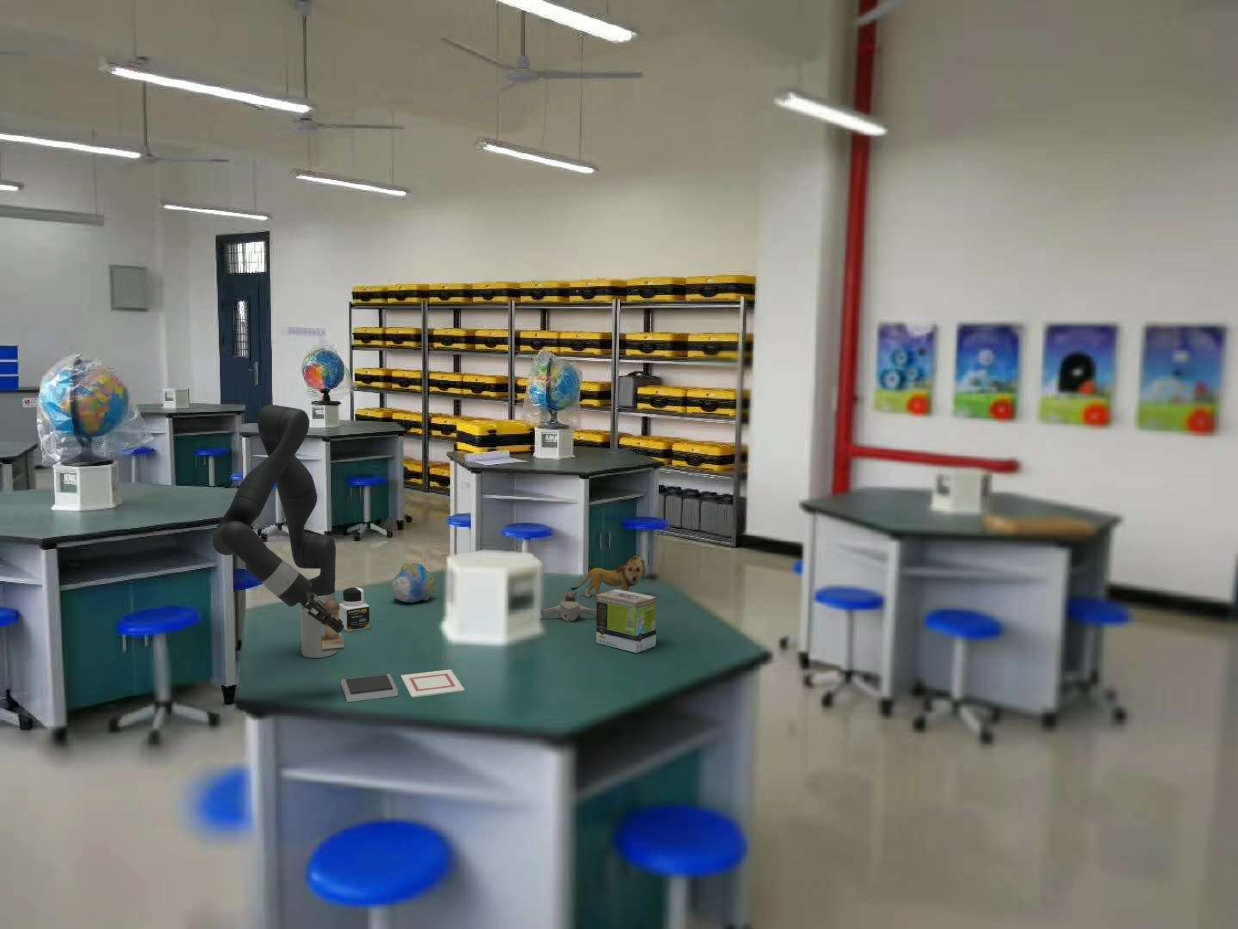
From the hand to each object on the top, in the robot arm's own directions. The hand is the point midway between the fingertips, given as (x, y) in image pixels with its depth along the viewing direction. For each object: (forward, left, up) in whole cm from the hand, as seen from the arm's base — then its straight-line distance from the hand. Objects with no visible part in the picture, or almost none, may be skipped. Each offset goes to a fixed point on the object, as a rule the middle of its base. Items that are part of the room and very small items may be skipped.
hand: (340, 627), depth 235 cm
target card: (+2, +22, -16) cm, 27 cm away
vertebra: (-42, +74, -17) cm, 87 cm away
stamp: (0, -2, -5) cm, 5 cm away
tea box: (-11, +80, -17) cm, 83 cm away
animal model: (-62, +94, -17) cm, 114 cm away
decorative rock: (-80, +31, -17) cm, 88 cm away
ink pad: (+1, +6, -16) cm, 18 cm away
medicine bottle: (-55, +9, -17) cm, 59 cm away
